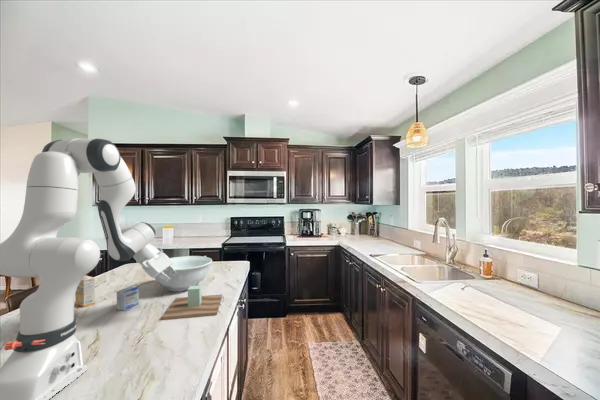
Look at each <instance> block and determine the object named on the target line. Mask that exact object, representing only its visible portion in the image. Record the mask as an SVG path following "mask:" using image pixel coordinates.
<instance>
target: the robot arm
mask: <svg viewBox="0 0 600 400" xmlns="http://www.w3.org/2000/svg"><path fill="white" fill-rule="evenodd" d="M119 150H120V149H118V147H117V146H116V145H115V144H114V143H113V142H112V141H110V140H108V139H104V138H94V139H93V138H79V137H77V138H68V139H67V138H66V139H57V140H53V141H50V142H48V143H46V144H45V146H44V147H43V148H42V151H41V152H40V153H38V154H37V155H35V156H34V157H33V160H32V162H31V164H30V167H29V171H28V176H27V180H26V188H25V196H24V197H25V198H24V205H23V211H22V215H21V218H20V220H19V222H18V224H17V226H16V228H15V229H14V231H13V232H12V233H11V234H10V235H9V236H8V237H7V239H5V240H4V241H2V242H1V243H0V276H5V277H10V278H39V279H40V280H39V285H38V288H37V289H36V291H34V292H33V293H31V294H29V295H28V296H26V298H24V299H23V300H22V301H21V303H20V305H19V331H18V332H17V334H16V337H15V339H14V340H9V341H6V342H5V344H4V345H3V350H5V351H10V350H13V351H12V353H11V354H10V355H9V357H8V358H7V359H6V360H5V362H4V363H3V365H2V366H1V368H0V400H47V399H49V398H50V397H52V396H53V395H54V394H56V393H57V392H58V391H60V390H61V389H62V388H64V387H65V386H67V385H68V384H69V385H70V384H72V383H73V382H74V381H75V380H77V379H78V378H79V377H80V376H82V375H83V374H84V373H85V371H86V370H88V365H86V364H85V363H83V355H82V354H83V353H82V343H81V341H80V340H79V338H77V335H76V334H75V333H76V332H77V319H76V318H75V302H76V290H77V287H78V285H79V283H80V281H81V280H82V278H83V277H84V276H85V275H88V274H89V273H90V272H91V271H93V270H95V267H97V265H98V263H99V262H100V258H101V249H100V247H99V245H98V244H97V243H96V241H94V240H92V239H89V238H82V237H76V236H72V237H71V236H69V237H68V236H67V237H66V236H64V237H59V236H58V233H59V231H60V230H61V228H63V226H64V225H66V224H67V223H69V222H71V221H72V220H73V219H75V218H76V216H77V213H78V202H79V200H78V199H79V190H80V189H79V186H80V184H79V181H80V179H79V176H80V174H88V173H89V174H91V173H92V174H93V176H94V178H95V181H96V183H97V186H98V187H99V191H100V196H99V197H100V198H99V202H98V203H97V212H98V216H99V220H100V223H101V228H102V230H103V234H104V238H105V243H106V251H107V254H108V256H110V257H111V259H112V260H114V261H117V262H125V261H129V260H131V259H132V258H133V259H134V260H135V261H136V262H137V263H138V264H139V265H141V267H142V270H143V271H144V272H145V273H146V274H147V275H149V277H150V278H152V279H155V278H156V277H157V276H158V277H160V278H162V279H164V280H165V281H169V280H170V277H169V276H167V275H166V274H164V272H163V271H165V270H166V269H167V270H168V271H169V272H170V273H171V275H173V276H174V275H175V274H176V273H177V272H176V271H175V270H174V269H173V267H172V266H171V265H172V264H173V262H172V260H171V259H170V258H171V257H169V256H168V254H166V253H164V250H163V249H162V248H160V247H156V246H154V245H153V244H151V242H153V241H154V239H155V238H156V229H155V228H154V227H153V226H152V224H150V223H147V222H145V221H141V222H140V221H139V222H138V223H136V224H134V225H132V226H125V227H123V228H121V226H120V222H119V216H120V213H121V212H122V210H123V209H124V207H126V205H127V204H128V203H129V202H130V201H131V200H132V199H133V197H134V195H135V194H136V191H137V189H136V183H135V181H134V178H133V176H132V174H131V171H130V169H129V167H128V165H127V164H126V162H125V161H124V159H123V158H122V156H121V152H120V151H119ZM86 372H87V371H86ZM82 373H83V374H82ZM81 374H82V375H81ZM77 377H78V378H77ZM76 378H77V379H76ZM71 382H72V383H71ZM69 385H68V386H69ZM68 386H67V387H68ZM65 388H66V387H65ZM65 388H64V389H65ZM60 392H61V391H60ZM56 395H57V394H56Z"/></svg>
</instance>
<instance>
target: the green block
mask: <svg viewBox="0 0 600 400" xmlns="http://www.w3.org/2000/svg"><path fill="white" fill-rule="evenodd" d="M202 296H203V295H202V285H198V284H197V286H190V287H189V289H188V290H187V297H188V307H197V306H200V304H201V302H202Z"/></svg>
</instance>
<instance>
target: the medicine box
mask: <svg viewBox="0 0 600 400" xmlns="http://www.w3.org/2000/svg"><path fill="white" fill-rule="evenodd" d="M139 298H140V297H139V286H138V285H131V286H128V287H125V288H122V289H120V290H117V291H116V310H117V311H124V312H125V311H128V310H129V309H131V308H133V307H135V306H138V305H139V301H140V300H139Z"/></svg>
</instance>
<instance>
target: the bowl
mask: <svg viewBox="0 0 600 400" xmlns="http://www.w3.org/2000/svg"><path fill="white" fill-rule="evenodd" d="M169 258H170V259H171V260H172V262H173V264H172V265H171V266H172V267H173V269H174V270H175V271H176V272H177V273H176V274H175V275H174V276H173V275H171V273H170V272H169V271H168V270H167V269H166V270H165V271H163V272H164V274H166V275H167V276H169V277H170V280H169V281H165V280H164V279H162V278H160V277H158V276H157V277H156V278H154V279H155V281H156V282H157V283H158V284H160V285H161V286H162V287H166V288H167V290H168V291H169V292H170V291H171V292H184V291H188V289H189V287H190V286H198V284H199V283H201V282H202V281H203V280H204V279H206V277H207V275H208V273H209V270H210V265H211V264H212V262H213V259H212V258H211V257H208V256H205V255H204V256H203V255H202V256H201V255H186V256H174V257H169Z"/></svg>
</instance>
